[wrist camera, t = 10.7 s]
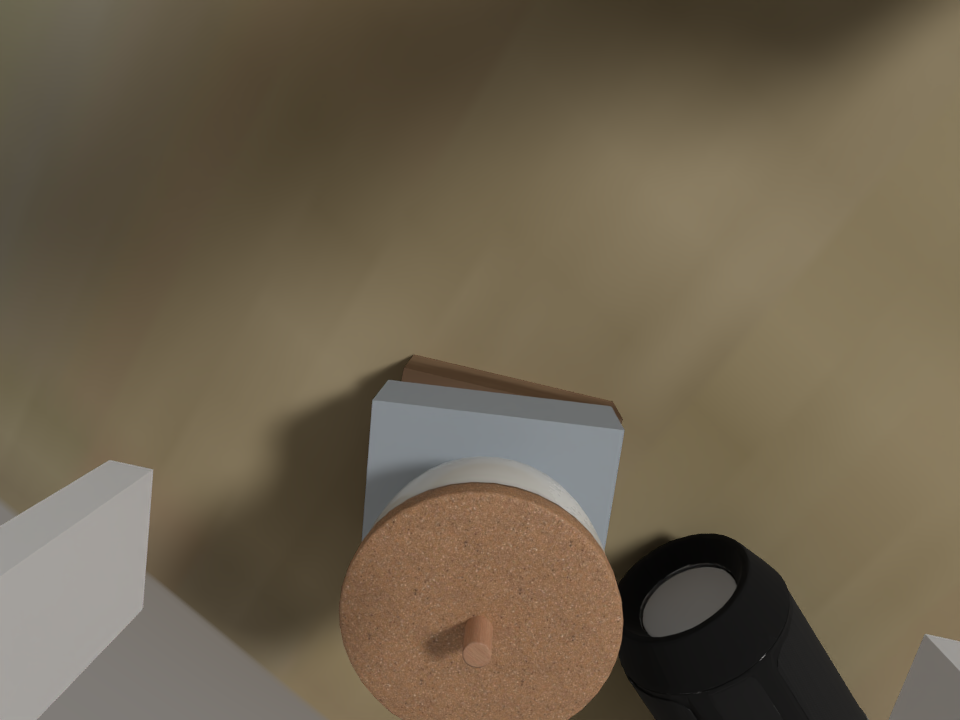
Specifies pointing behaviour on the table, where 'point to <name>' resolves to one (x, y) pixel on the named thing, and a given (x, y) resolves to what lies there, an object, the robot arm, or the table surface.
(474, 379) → the tower base
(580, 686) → the lidded jar
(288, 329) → the table surface
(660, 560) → the portable speaker
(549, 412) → the tower top
